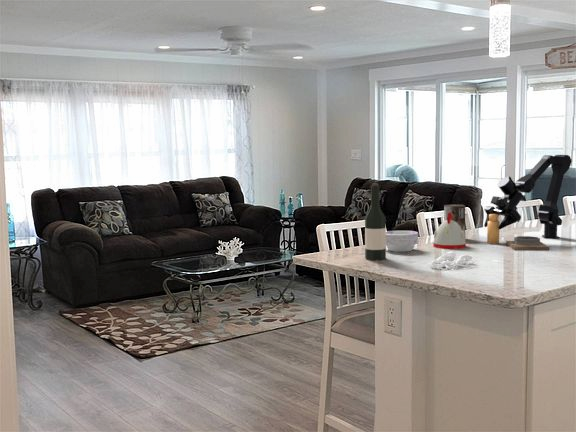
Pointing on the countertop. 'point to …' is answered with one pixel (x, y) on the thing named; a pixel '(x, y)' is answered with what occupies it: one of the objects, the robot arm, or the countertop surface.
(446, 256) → the crumpled white cloth
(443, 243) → the kitchen timer
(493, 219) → the wooden peg doll
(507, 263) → the countertop surface
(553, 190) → the robot arm
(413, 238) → the paper bowls
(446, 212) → the coffee box
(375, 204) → the wine bottle
